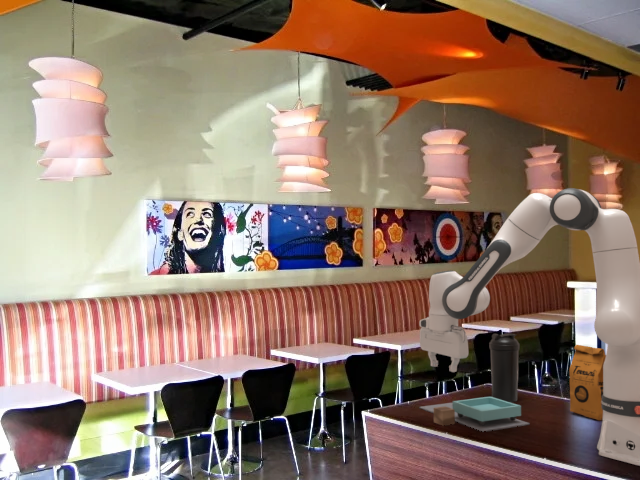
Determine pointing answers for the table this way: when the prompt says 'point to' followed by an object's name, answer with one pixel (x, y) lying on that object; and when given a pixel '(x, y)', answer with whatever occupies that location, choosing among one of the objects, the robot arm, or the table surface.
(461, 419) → the grey rectangular mat
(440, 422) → the walnut block
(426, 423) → the table surface
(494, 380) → the water bottle
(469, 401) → the cyan square tray
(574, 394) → the coffee package
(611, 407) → the robot arm
